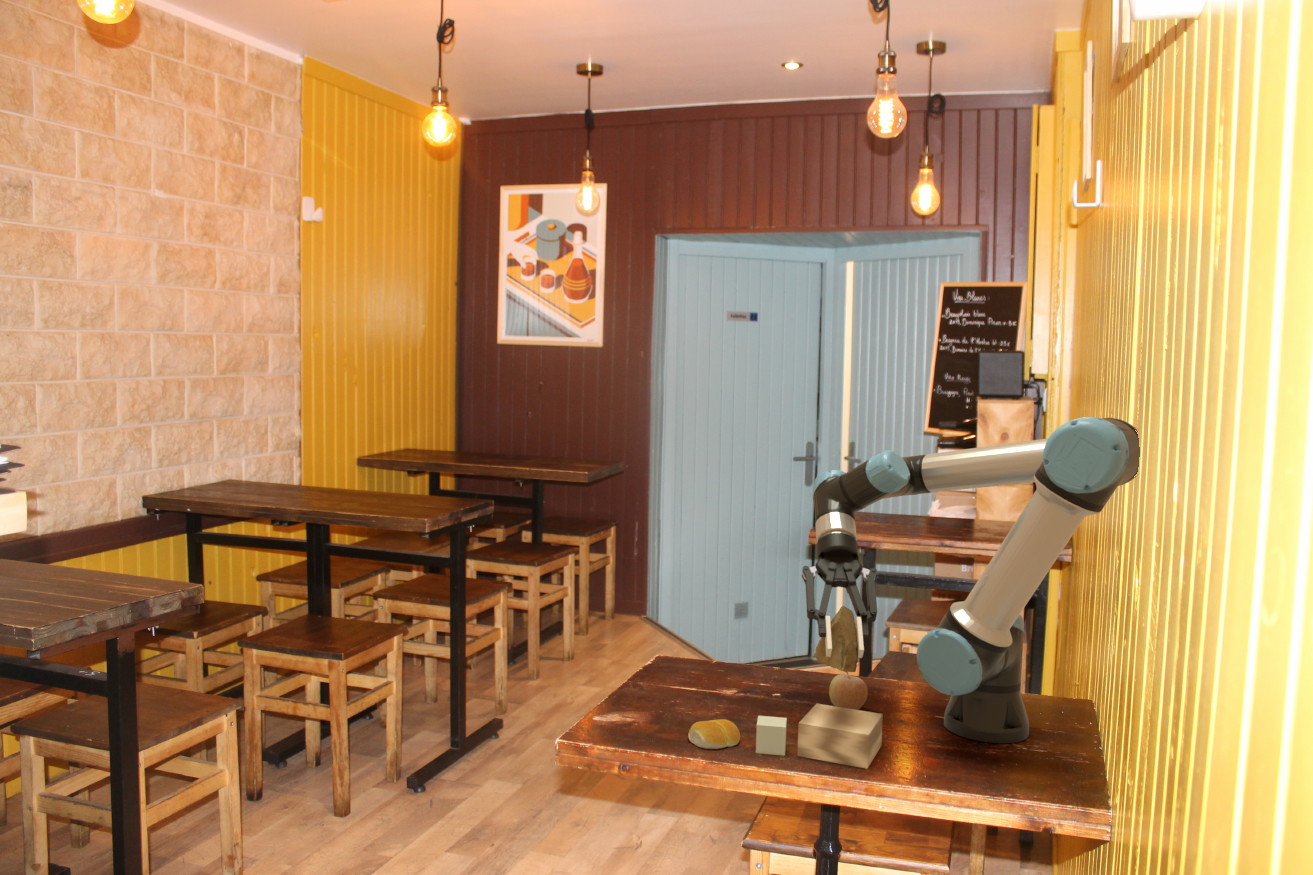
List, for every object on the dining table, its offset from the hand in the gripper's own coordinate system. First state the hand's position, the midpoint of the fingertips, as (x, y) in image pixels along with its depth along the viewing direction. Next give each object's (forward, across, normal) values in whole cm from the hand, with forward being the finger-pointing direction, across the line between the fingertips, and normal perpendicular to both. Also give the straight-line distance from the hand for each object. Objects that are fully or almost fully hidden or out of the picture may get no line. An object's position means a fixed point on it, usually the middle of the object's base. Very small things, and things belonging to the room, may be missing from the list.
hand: (844, 652), depth 165 cm
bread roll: (+10, +22, -16) cm, 29 cm away
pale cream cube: (+11, +12, -15) cm, 22 cm away
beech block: (+10, 0, -16) cm, 19 cm away
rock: (0, +1, -5) cm, 5 cm away
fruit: (-6, -4, -32) cm, 33 cm away
